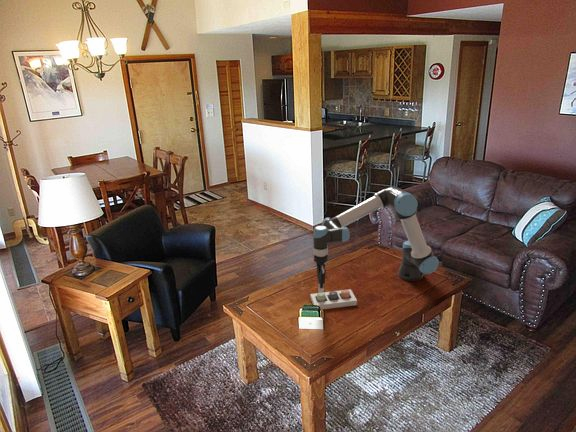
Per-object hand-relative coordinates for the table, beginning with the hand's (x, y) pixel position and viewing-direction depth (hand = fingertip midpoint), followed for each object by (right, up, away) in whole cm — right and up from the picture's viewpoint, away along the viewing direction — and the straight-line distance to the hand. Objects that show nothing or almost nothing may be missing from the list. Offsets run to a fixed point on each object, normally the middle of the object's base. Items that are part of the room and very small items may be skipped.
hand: (321, 292), depth 224 cm
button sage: (0, -5, +2) cm, 5 cm away
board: (+7, -6, +4) cm, 10 cm away
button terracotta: (+14, -3, +4) cm, 15 cm away
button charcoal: (+7, -4, +3) cm, 9 cm away
